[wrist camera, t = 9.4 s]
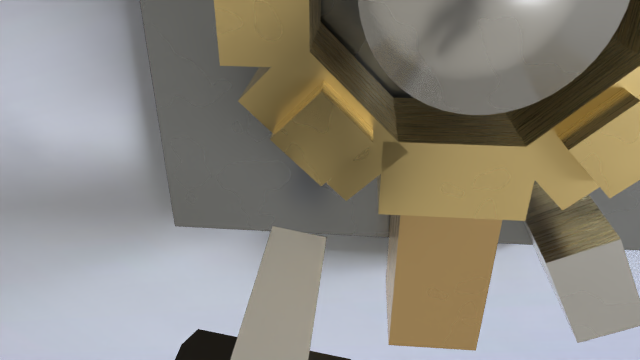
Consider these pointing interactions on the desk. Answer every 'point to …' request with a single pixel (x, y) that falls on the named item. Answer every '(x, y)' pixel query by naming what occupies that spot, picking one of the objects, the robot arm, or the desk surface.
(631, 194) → the grey base plate
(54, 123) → the desk surface
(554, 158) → the octagonal block ring
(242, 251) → the desk surface
